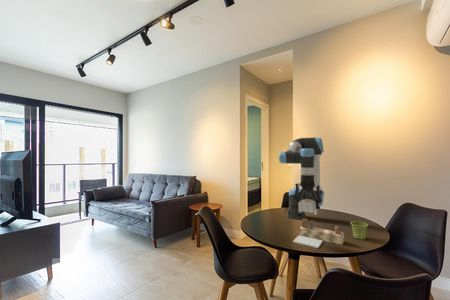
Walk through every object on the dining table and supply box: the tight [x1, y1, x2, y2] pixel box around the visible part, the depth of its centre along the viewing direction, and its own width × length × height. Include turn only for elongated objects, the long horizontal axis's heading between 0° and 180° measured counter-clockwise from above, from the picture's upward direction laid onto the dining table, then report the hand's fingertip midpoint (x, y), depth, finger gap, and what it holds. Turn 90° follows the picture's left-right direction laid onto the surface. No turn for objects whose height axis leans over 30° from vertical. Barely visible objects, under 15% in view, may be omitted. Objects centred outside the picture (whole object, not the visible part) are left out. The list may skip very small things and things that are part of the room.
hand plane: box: [299, 218, 345, 246], centre depth 135 cm, size 24×6×10 cm, turn 54°
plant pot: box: [350, 220, 369, 240], centre depth 136 cm, size 9×9×9 cm
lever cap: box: [298, 199, 315, 214], centre depth 129 cm, size 9×8×6 cm
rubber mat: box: [292, 235, 324, 249], centre depth 129 cm, size 14×11×1 cm
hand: (307, 213), depth 129 cm, fingers closed on lever cap, 8 cm apart
